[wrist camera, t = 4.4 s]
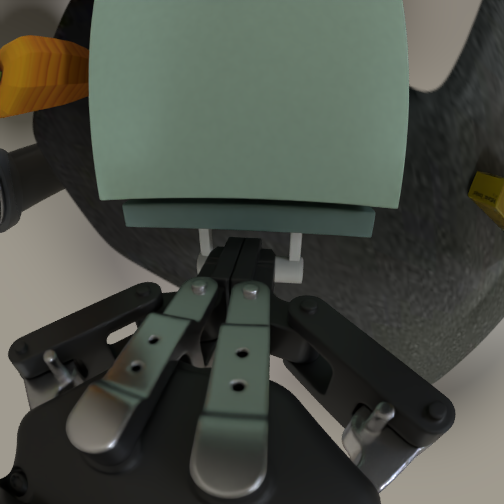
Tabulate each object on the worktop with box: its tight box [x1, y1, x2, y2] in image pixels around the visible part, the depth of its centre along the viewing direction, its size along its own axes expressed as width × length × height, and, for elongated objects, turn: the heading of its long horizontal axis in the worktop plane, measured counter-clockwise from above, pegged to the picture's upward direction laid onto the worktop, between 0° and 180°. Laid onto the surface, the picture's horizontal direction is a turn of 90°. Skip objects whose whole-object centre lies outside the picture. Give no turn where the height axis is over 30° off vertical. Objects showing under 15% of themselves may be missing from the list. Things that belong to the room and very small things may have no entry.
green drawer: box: [122, 198, 375, 283], centre depth 13 cm, size 18×11×8 cm, turn 0°
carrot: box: [0, 35, 89, 118], centre depth 10 cm, size 5×5×15 cm
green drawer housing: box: [89, 0, 409, 209], centre depth 11 cm, size 15×13×10 cm
